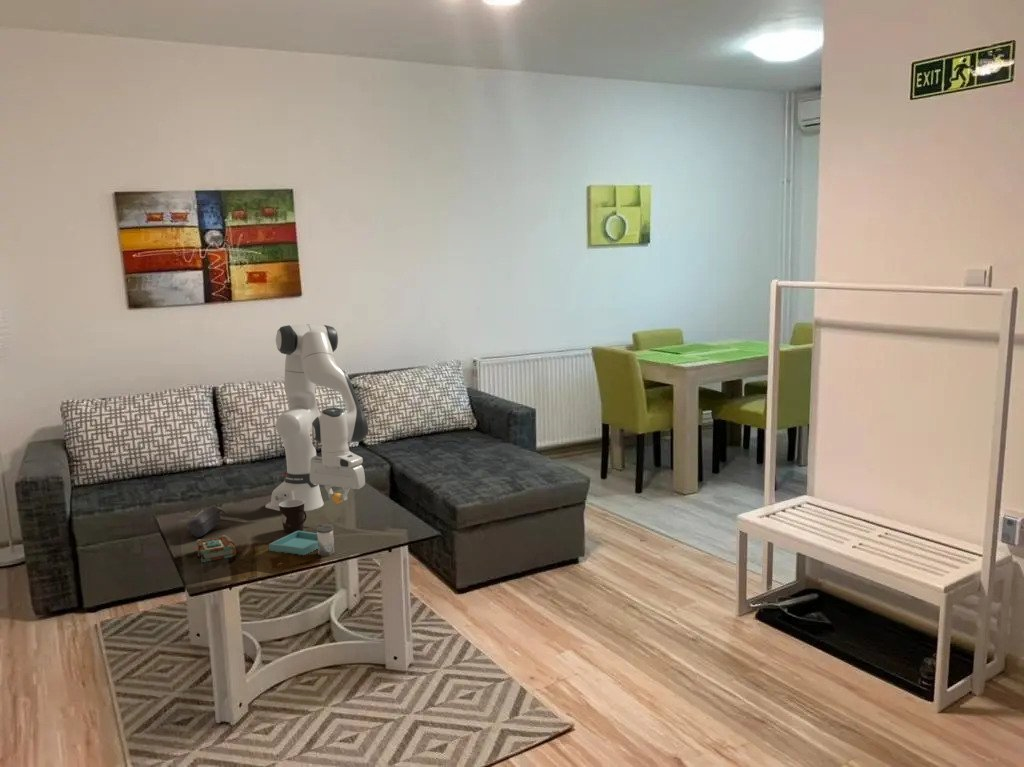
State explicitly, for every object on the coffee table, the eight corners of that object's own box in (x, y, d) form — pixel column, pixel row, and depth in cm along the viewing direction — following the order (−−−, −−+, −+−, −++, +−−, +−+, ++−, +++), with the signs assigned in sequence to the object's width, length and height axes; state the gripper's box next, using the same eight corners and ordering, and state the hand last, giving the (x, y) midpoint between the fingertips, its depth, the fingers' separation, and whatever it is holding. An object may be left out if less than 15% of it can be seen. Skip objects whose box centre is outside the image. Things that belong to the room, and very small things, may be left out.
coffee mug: (279, 529, 287) (277, 501, 286) (304, 525, 291) (302, 498, 289) (284, 539, 277) (281, 510, 275) (309, 535, 280) (307, 507, 278)
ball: (330, 504, 269) (329, 494, 269) (337, 501, 272) (336, 491, 272) (339, 505, 268) (338, 495, 267) (345, 502, 271) (345, 492, 270)
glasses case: (202, 524, 296) (200, 503, 295) (231, 523, 296) (229, 503, 294) (181, 541, 278) (179, 519, 277) (212, 540, 278) (210, 518, 277)
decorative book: (229, 541, 277) (228, 527, 277) (237, 557, 262) (236, 542, 261) (187, 549, 271) (185, 534, 271) (193, 565, 256) (191, 550, 255)
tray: (269, 551, 265) (269, 543, 265) (298, 537, 278) (297, 530, 278) (303, 556, 259) (303, 549, 259) (331, 542, 272) (331, 535, 272)
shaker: (314, 555, 260) (312, 528, 259) (325, 549, 265) (323, 522, 264) (328, 557, 258) (326, 529, 257) (338, 551, 263) (336, 524, 262)
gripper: (304, 457, 270) (306, 498, 272) (355, 463, 261) (357, 505, 263) (316, 453, 275) (318, 493, 277) (366, 458, 266) (368, 499, 268)
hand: (337, 499), depth 270 cm, fingers closed on ball, 3 cm apart
